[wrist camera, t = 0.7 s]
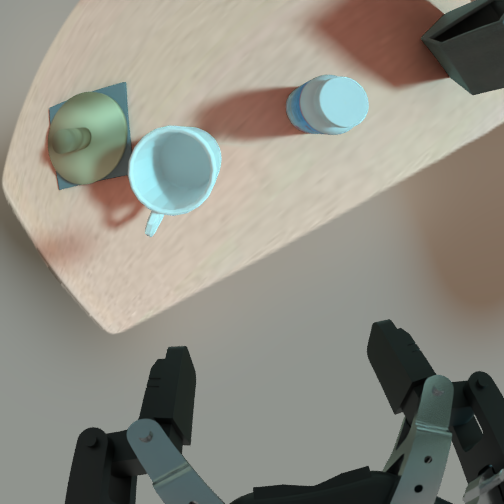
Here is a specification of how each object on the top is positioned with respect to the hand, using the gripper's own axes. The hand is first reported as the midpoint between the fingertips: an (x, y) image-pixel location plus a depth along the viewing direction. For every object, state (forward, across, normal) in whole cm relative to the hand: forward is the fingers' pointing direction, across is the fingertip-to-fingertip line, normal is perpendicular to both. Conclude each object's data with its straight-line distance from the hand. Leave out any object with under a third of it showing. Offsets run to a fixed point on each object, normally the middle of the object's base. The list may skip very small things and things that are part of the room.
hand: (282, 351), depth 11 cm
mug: (+26, +8, -4) cm, 27 cm away
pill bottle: (+26, -8, -10) cm, 29 cm away
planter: (+26, -32, -24) cm, 48 cm away
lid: (+25, +20, -11) cm, 34 cm away
